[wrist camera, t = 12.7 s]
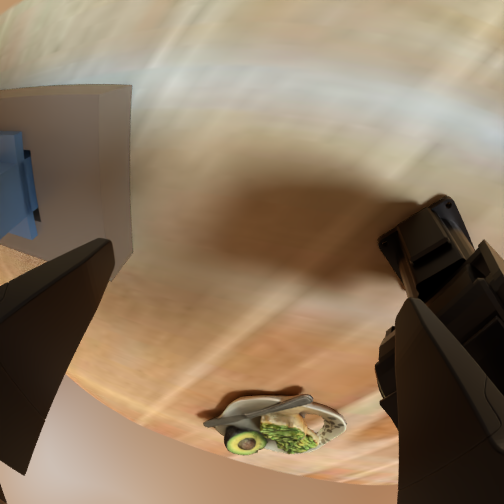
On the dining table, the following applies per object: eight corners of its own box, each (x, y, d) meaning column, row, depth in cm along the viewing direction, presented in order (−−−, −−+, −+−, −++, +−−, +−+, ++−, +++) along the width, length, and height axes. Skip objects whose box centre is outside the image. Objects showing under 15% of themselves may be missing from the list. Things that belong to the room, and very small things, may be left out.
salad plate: (243, 361, 33) (235, 397, 30) (377, 401, 35) (379, 433, 31) (200, 420, 44) (193, 445, 41) (303, 449, 46) (300, 473, 42)
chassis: (132, 84, 18) (99, 94, 15) (133, 252, 27) (111, 281, 23) (-18, 92, 19) (-48, 105, 16) (0, 216, 27) (-23, 235, 24)
